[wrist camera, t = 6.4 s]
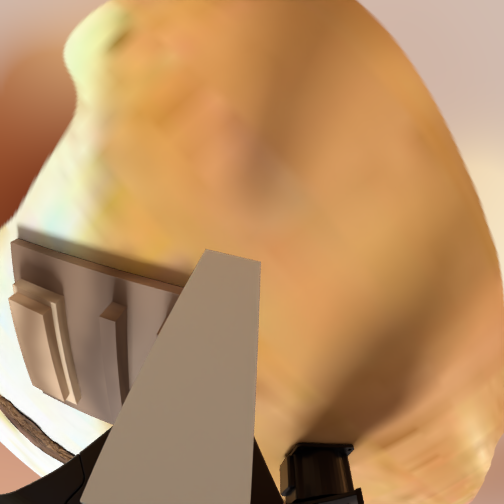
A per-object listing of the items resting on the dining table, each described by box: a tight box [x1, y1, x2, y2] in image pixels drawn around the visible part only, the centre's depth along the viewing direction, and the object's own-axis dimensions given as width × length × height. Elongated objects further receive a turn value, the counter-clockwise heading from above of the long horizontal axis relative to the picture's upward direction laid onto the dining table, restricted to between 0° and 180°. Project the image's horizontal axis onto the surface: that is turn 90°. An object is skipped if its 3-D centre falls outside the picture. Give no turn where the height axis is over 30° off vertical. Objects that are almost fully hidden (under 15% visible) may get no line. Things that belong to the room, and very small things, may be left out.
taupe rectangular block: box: [80, 249, 261, 504], centre depth 7 cm, size 2×7×9 cm, turn 167°
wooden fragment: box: [0, 395, 74, 464], centre depth 30 cm, size 26×11×1 cm, turn 41°
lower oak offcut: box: [13, 279, 82, 405], centre depth 20 cm, size 5×12×1 cm, turn 167°
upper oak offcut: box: [8, 292, 70, 402], centre depth 18 cm, size 4×10×1 cm, turn 167°
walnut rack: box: [11, 238, 184, 425], centre depth 20 cm, size 18×18×3 cm
